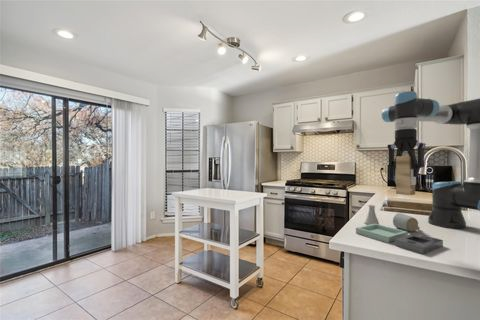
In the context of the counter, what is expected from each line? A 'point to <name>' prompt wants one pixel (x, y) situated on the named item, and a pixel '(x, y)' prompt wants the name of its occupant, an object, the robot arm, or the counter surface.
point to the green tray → (381, 232)
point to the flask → (371, 216)
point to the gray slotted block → (418, 243)
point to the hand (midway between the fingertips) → (405, 184)
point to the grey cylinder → (405, 222)
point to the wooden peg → (404, 176)
